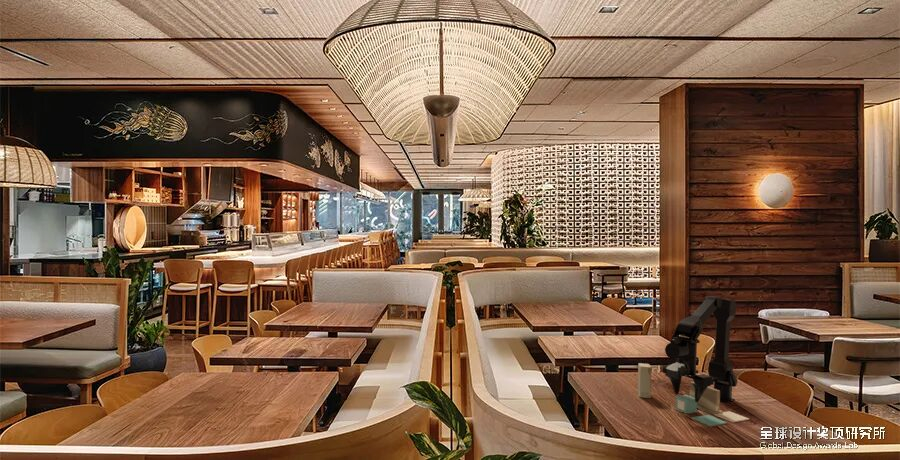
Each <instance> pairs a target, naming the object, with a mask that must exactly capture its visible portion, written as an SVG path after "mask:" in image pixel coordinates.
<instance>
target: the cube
mask: <svg viewBox="0 0 900 460" xmlns="http://www.w3.org/2000/svg"><path fill="white" fill-rule="evenodd" d="M676 409H677V410H676ZM675 410H676V411H679V412H681V413H683V412H684V414H687V413H688V414H693V412H694V413H697V402H695V398H694V397H691V396H690V395H688V394H682V395H681V394H680V395H676V396H675Z"/></svg>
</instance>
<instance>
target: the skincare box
mask: <svg viewBox="0 0 900 460" xmlns="http://www.w3.org/2000/svg"><path fill="white" fill-rule="evenodd" d="M637 366H638V367H637V370H638V371H637V395H638V397H639V398H645V399H647V398H648V399H651V398H652V365H650V364H649V363H641V362H639V363H638V365H637Z"/></svg>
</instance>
